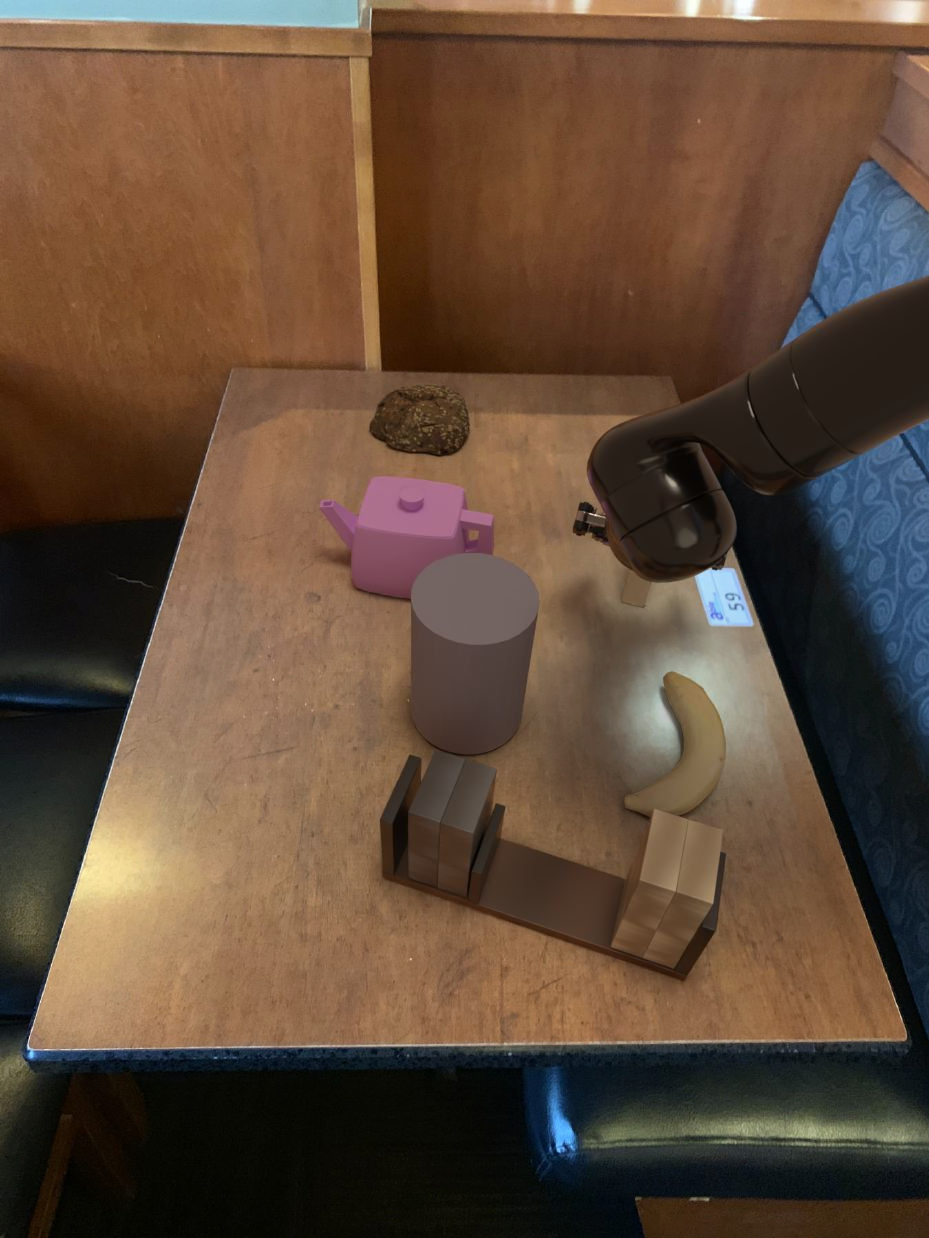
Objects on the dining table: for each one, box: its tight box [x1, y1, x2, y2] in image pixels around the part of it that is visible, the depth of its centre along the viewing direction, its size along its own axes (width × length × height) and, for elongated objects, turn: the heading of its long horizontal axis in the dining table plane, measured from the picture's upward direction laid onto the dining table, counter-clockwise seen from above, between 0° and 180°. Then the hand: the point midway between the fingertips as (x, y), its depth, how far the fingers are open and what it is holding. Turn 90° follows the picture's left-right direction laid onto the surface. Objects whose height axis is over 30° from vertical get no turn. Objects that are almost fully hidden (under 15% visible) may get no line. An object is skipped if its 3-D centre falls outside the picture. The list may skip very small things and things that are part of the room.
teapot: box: [318, 475, 495, 600], centre depth 88 cm, size 18×10×10 cm, turn 82°
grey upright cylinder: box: [410, 553, 541, 755], centre depth 73 cm, size 10×10×15 cm
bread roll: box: [368, 383, 471, 456], centre depth 107 cm, size 13×12×5 cm
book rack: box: [379, 749, 727, 982], centre depth 62 cm, size 24×6×12 cm, turn 71°
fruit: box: [624, 671, 727, 818], centre depth 75 cm, size 7×15×3 cm, turn 158°
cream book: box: [620, 569, 652, 608], centre depth 87 cm, size 2×6×11 cm, turn 162°
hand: (647, 543), depth 85 cm, fingers open, 8 cm apart
